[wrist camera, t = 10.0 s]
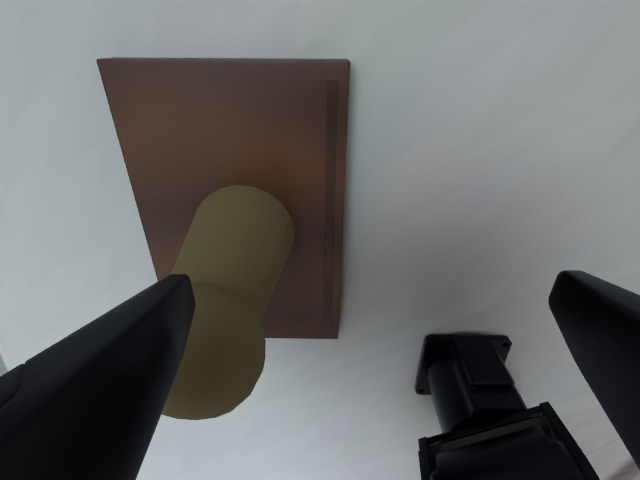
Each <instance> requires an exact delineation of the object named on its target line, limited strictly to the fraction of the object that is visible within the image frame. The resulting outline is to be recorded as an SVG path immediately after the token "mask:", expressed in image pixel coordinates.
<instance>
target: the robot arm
mask: <svg viewBox="0 0 640 480" xmlns="http://www.w3.org/2000/svg"><path fill="white" fill-rule="evenodd" d="M195 307H196V302H195V297H194V293H193V289H192V285H191V281H190V278H189V276H188V275H186V274H170V275H168V276H167V277H165V278H163V279H162V280H160V281H158V282H157V283H155V284H153V285H152V286H150V287H148V288H147V289H145V290H143V291H142V292H140V293H138V294H137V295H135V296H133V297H132V298H130V299H128V300H127V301H125V302H123V303H122V304H120V305H118V306H117V307H115V308H113V309H112V310H110V311H109V312H107V313H105V314H104V315H102V316H100V317H99V318H97V319H95V320H94V321H92V322H90V323H89V324H87V325H85V326H84V327H82V328H80V329H79V330H77V331H75V332H74V333H72V334H70V335H69V336H67V337H65V338H64V339H62V340H60V341H59V342H57V343H55V344H54V345H52V346H50V347H49V348H47V349H46V350H44V351H42V352H41V353H39V354H37V355H36V356H34V357H32V358H31V359H29V360H27V361H26V362H25V364H20V365H19V366H17V367H16V368H14V369H12V370H11V371H9V372H7V373H6V374H4V375H2V376H1V377H0V480H136V477H137V475H138V472H139V470H140V467H141V465H142V462H143V459H144V457H145V454H146V452H147V449H148V447H149V444H150V442H151V439H152V436H153V434H154V431H155V429H156V426H157V424H158V421H159V419H160V416H161V413H162V411H163V408H164V406H165V403H166V401H167V398H168V396H169V393H170V390H171V388H172V385H173V383H174V380H175V378H176V375H177V372H178V370H179V367H180V364H181V361H182V357H183V354H184V350H185V346H186V342H187V338H188V335H189V331H190V327H191V323H192V320H193V316H194V312H195ZM549 307H550V309H551V311H552V314H553V316H554V318H555V320H556V322H557V324H558V326H559V329H560V331H561V333H562V335H563V337H564V339H565V341H566V343H567V346H568V348H569V350H570V352H571V354H572V356H573V358H574V360H575V362H576V364H577V366H578V367H579V369H580V371H581V373H582V374H583V376H584V378H585V379H586V381H587V383H588V384H589V386H590V388H591V389H592V391H593V393H594V394H595V396H596V398H597V399H598V401H599V403H600V404H601V406H602V408H603V409H604V411H605V413H606V414H607V416H608V418H609V419H610V421H611V423H612V424H613V426H614V428H615V429H616V431H617V433H618V434H619V436H620V438H621V439H622V441H623V443H624V444H625V446H626V448H627V449H628V451H629V453H630V454H631V456H632V458H633V459H634V461H635V463H636V464H637V466H638V468H639V469H640V295H638V294H635V293H633V292H630V291H628V290H626V289H623V288H621V287H619V286H616V285H614V284H611V283H609V282H607V281H604V280H602V279H600V278H597V277H595V276H592V275H590V274H588V273H585V272H583V271H579V270H568V271H561V272H560V273H559V274H558V275H557V278H556V280H555V283H554V285H553V288H552V291H551V293H550V296H549ZM432 341H433V342H432ZM511 345H512V343H511V341H510V339H509V338H508V337H507V336H461V335H429V336H427V337H426V338H425V340H424V345H423V350H422V354H421V359H420V364H419V368H418V373H417V378H416V383H415V391H416V393H417V394H420V395H431V396H432V399H433V403H434V406H435V409H436V413H437V416H438V420H439V423H440V426H441V430H442V434H439V435H435V436H432V437H428V438H427V437H423V438H420V439H418V441H419V449H420V451H418V454H419V462H420V471H421V480H600V479H599V477H598V476H597V474H596V472H595V471H594V469H593V467H592V466H591V464H590V463H589V461H588V459H587V458H586V456H585V455H584V453H583V452H582V450H581V449H580V447H579V446H578V444H577V443H576V442H575V440H574V439H573V437H572V436H571V434H570V433H569V431H568V430H567V428H566V427H565V425H564V424H563V423H562V421H561V420H560V418H559V417H558V415H557V414H556V412H555V411H554V409H553V408H552V406H551V405H550V404H549V402H548V401H547V402H544V403H540V404H539V406H536V407H532V408H529V409H527V407H526V405H525V404H524V402H523V400H522V398H521V396H520V394H519V393H518V391H517V389H516V387H515V385H514V381H513V379H512V377H511V375H510V373H509V372H508V370H507V368H506V366H505V364H504V363H505V360H506V358H507V355H508V353H509V350H510V347H511Z"/></svg>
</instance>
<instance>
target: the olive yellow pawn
mask: <svg viewBox="0 0 640 480" xmlns="http://www.w3.org/2000/svg"><path fill="white" fill-rule="evenodd" d="M294 237H295V228H294V225H293V222H292V218H291V215H290V214H289V213H288V211H287V210H286V208H285V207H284V206H283V204H282V203H281V202H280V201H278V200H277V199H276V198H275V197H273V196H272V195H271V194H269V193H268V192H265V191H263V190H260V189H258V188H255V187H252V186H241V185H233V186H229V187H224V188H220V189H218V190H216V191H215V192H213V193H211V194H210V195H208V196H207V197H206V198H205V199H204V200H203V202H202V203H201V204H200V206H199V207H198V209H197V211H196V214H195V216H194V219H193V221H192V223H191V226H190V228H189V231H188V233H187V236H186V238H185V241H184V243H183V246H182V248H181V250H180V253H179V255H178V258H177V260H176V263H175V265H174V268H173V270H172V273H171V274H186V275H188V276H189V278H190V281H191V285H192V289H193V293H194V297H195V302H196V307H195V312H194V316H193V320H192V323H191V327H190V331H189V335H188V338H187V342H186V346H185V350H184V354H183V357H182V361H181V364H180V367H179V370H178V372H177V375H176V378H175V380H174V383H173V385H172V388H171V390H170V393H169V396H168V398H167V401H166V403H165V406H164V408H163V411H162V413H161V414H162V415H165V416H169V417H173V418H177V419H189V420H200V419H208V418H216V417H218V416H221V415H223V414H226V413H228V412H231V411H232V410H233V409H234V408H236V407H237V406H238V405H239V404H240V403H242V402H243V401H244V400H245V399H246V398H247V397H248V396H249V395H250V394H251V392H252V390H253V388H254V386H255V384H256V383H257V381H258V379H259V377H260V375H261V373H262V371H263V367H264V361H265V335H264V330H263V327H262V325H261V323H260V322H261V319H262V317H263V315H264V312H265V310H266V308H267V305H268V303H269V301H270V298H271V296H272V294H273V291H274V289H275V287H276V284H277V282H278V280H279V277H280V275H281V273H282V270H283V268H284V266H285V263H286V261H287V259H288V256H289V254H290V252H291V249H292V247H293V245H294Z"/></svg>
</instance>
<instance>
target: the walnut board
mask: <svg viewBox="0 0 640 480" xmlns="http://www.w3.org/2000/svg"><path fill="white" fill-rule="evenodd" d="M97 64H98V67H99V71H100V75H101V78H102V82H103V85H104V89H105V92H106V96H107V100H108V103H109V107H110V110H111V114H112V118H113V121H114V125H115V128H116V132H117V136H118V139H119V143H120V146H121V150H122V153H123V157H124V161H125V164H126V168H127V171H128V175H129V179H130V182H131V186H132V189H133V193H134V197H135V200H136V204H137V207H138V211H139V214H140V218H141V222H142V225H143V229H144V232H145V236H146V240H147V243H148V247H149V250H150V254H151V257H152V261H153V265H154V268H155V272H156V275H157V279H158V281H160V280H162V279H163V278H165V277H167V276H168V275H170V274H171V273H172V270H173V268H174V265H175V263H176V260H177V258H178V255H179V253H180V250H181V248H182V246H183V243H184V241H185V238H186V236H187V233H188V231H189V228H190V226H191V223H192V221H193V219H194V216H195V214H196V211H197V209H198V207H199V206H200V204H201V203H202V202H203V200H204V199H205V198H206V197H207V196H208V195H210V194H211V193H213V192H215V191H216V190H218V189H220V188H224V187H229V186H233V185H241V186H252V187H255V188H258V189H260V190H263V191H265V192H268V193H269V194H271V195H272V196H273V197H275V198H276V199H277V200H278V201H280V202H281V203H282V204H283V206H284V207H285V208H286V210H287V211H288V213H289V214H290V215H291V218H292V222H293V225H294V228H295V237H294V245H293V247H292V249H291V252H290V254H289V256H288V259H287V261H286V263H285V266H284V268H283V270H282V273H281V275H280V277H279V280H278V282H277V284H276V287H275V289H274V291H273V294H272V296H271V298H270V301H269V303H268V305H267V308H266V310H265V312H264V315H263V317H262V319H261V322H260V323H261V325H262V327H263V330H264V335H265V338H309V339H338V330H339V307H340V283H341V259H342V236H343V212H344V188H345V165H346V141H347V117H348V94H349V70H350V61H349V60H348V59H263V58H103V59H97Z"/></svg>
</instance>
